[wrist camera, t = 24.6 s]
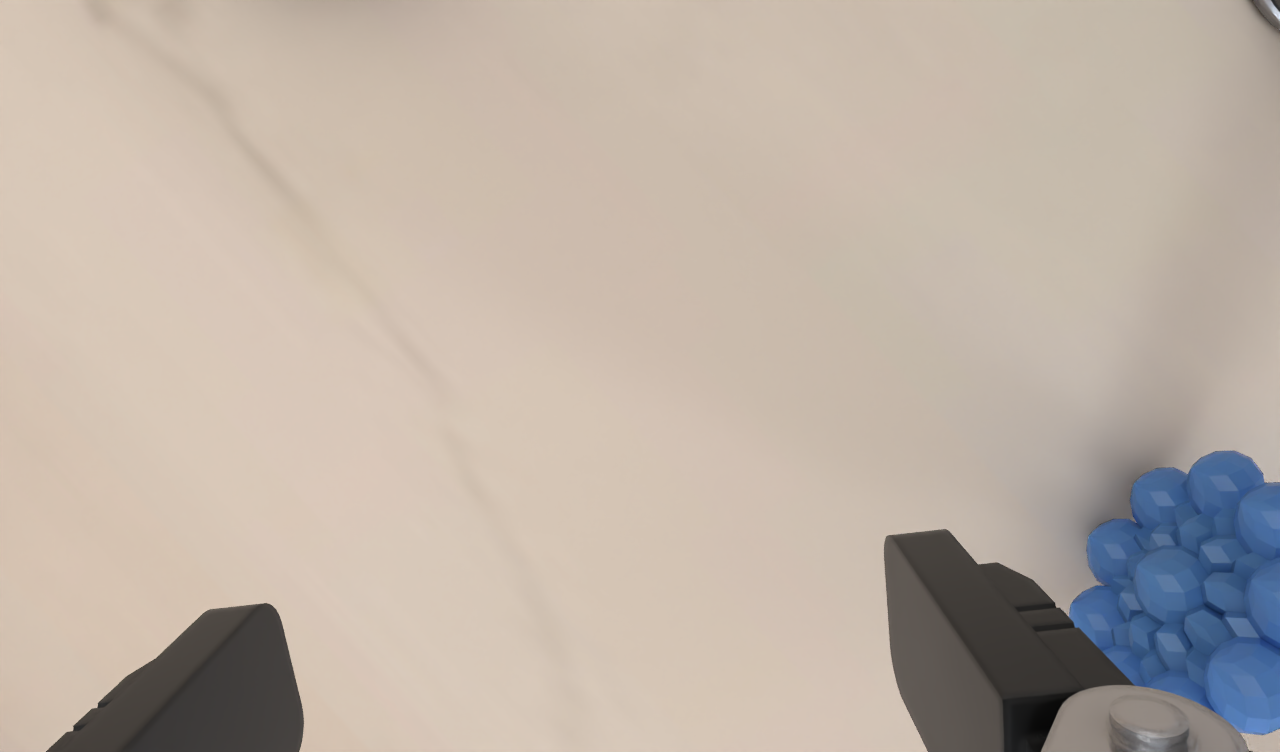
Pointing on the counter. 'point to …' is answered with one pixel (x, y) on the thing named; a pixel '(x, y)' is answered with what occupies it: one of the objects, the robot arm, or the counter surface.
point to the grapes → (1194, 589)
